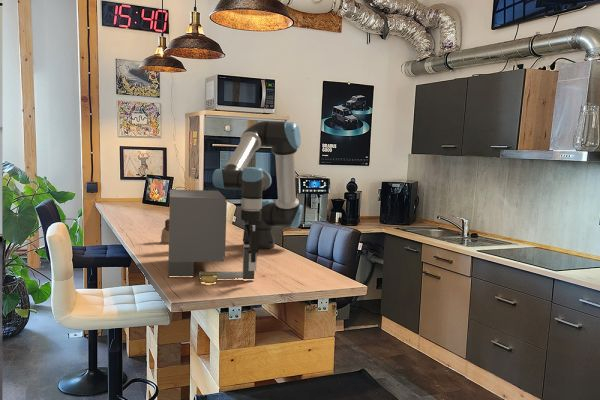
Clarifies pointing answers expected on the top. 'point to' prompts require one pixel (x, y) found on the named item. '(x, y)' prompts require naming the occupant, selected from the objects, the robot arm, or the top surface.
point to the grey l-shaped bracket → (232, 275)
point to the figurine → (165, 233)
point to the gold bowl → (208, 277)
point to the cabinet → (195, 229)
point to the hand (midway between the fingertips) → (249, 265)
